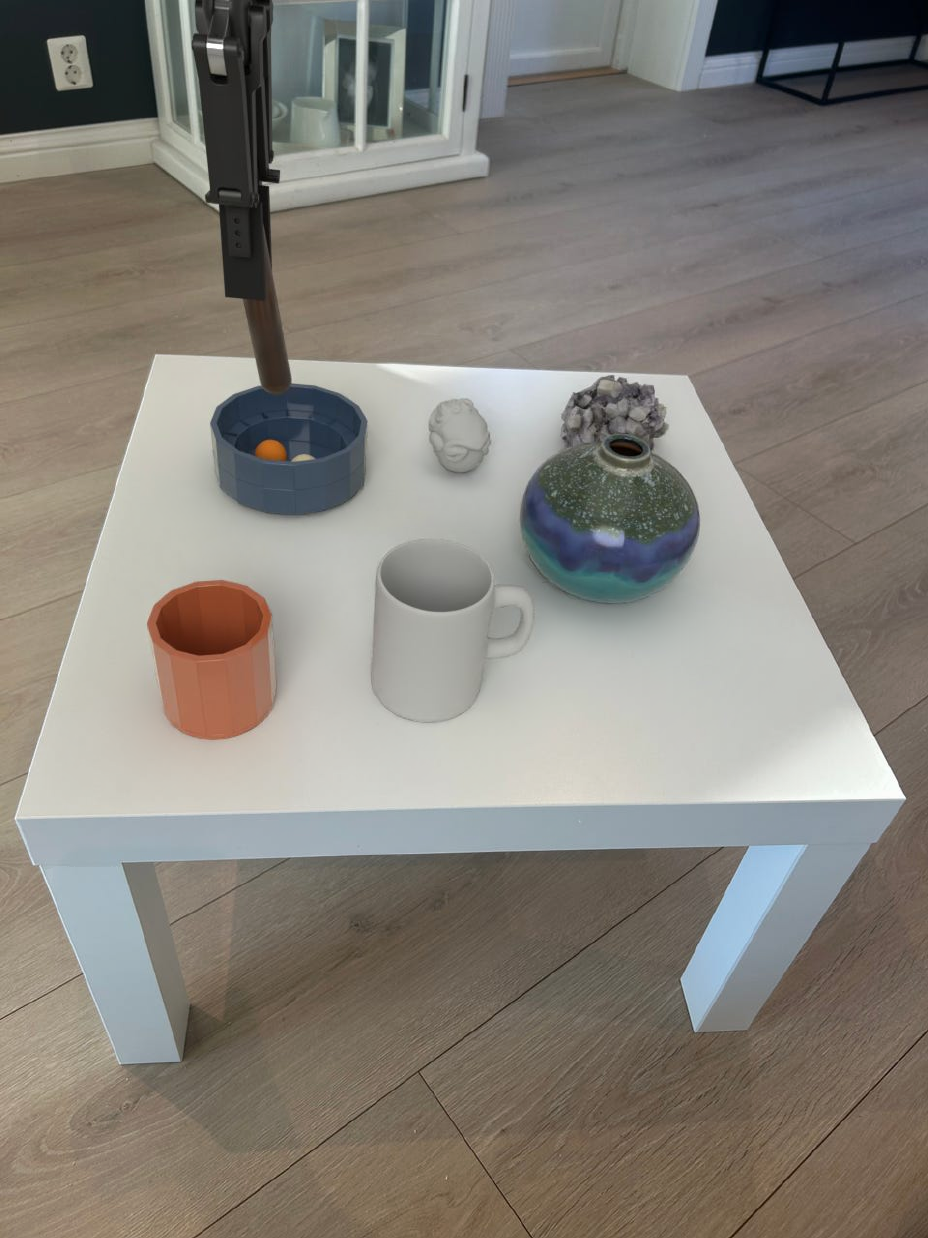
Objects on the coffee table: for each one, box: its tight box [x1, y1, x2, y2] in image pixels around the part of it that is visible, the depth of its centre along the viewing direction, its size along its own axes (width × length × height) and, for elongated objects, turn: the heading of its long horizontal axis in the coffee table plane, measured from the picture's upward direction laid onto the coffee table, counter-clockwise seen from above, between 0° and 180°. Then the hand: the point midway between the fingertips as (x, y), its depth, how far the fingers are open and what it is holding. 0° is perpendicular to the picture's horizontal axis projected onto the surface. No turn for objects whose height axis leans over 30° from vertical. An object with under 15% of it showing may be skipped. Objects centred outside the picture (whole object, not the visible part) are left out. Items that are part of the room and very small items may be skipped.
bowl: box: [209, 382, 369, 516], centre depth 92 cm, size 14×14×6 cm
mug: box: [370, 538, 535, 723], centre depth 72 cm, size 12×8×11 cm
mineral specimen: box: [559, 374, 670, 452], centre depth 100 cm, size 12×9×10 cm
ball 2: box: [291, 454, 315, 462], centre depth 91 cm, size 3×3×3 cm
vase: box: [519, 434, 701, 604], centre depth 83 cm, size 15×15×13 cm
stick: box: [242, 225, 293, 395], centre depth 68 cm, size 2×2×18 cm
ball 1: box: [255, 440, 287, 461], centre depth 92 cm, size 3×3×3 cm
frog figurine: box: [428, 397, 492, 474], centre depth 95 cm, size 6×7×7 cm
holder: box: [146, 579, 277, 740], centre depth 69 cm, size 8×8×8 cm
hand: (249, 286), depth 69 cm, fingers closed on stick, 2 cm apart
